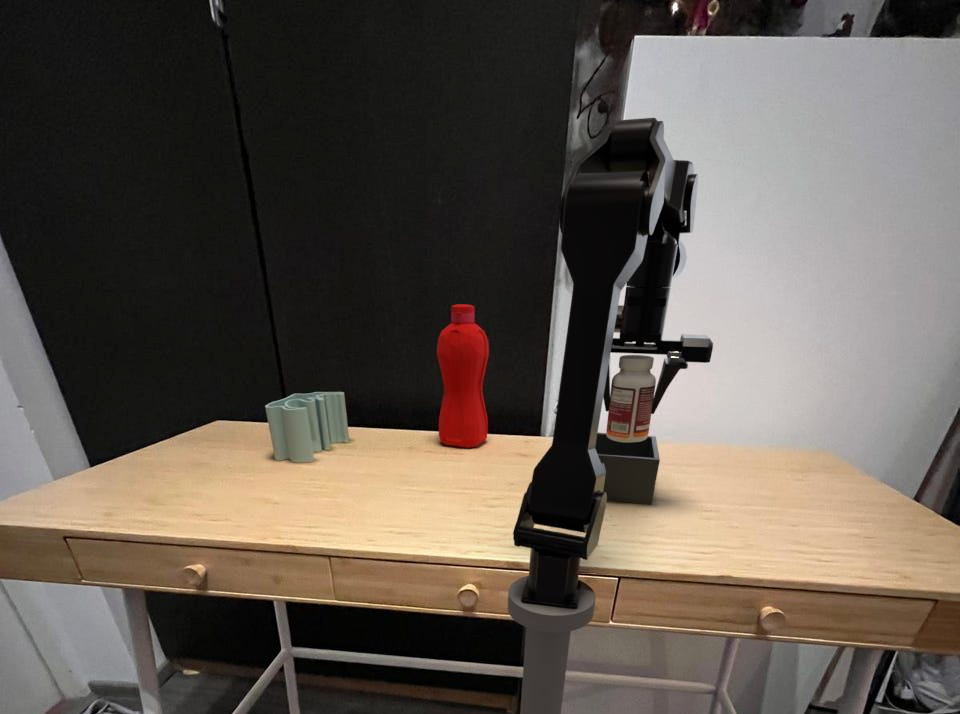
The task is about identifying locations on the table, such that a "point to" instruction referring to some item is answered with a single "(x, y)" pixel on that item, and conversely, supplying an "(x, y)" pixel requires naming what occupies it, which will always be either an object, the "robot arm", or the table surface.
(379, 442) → the table surface
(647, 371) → the pill bottle
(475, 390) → the water bottle
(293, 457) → the squiggly pen holder
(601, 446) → the waste bin
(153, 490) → the table surface
